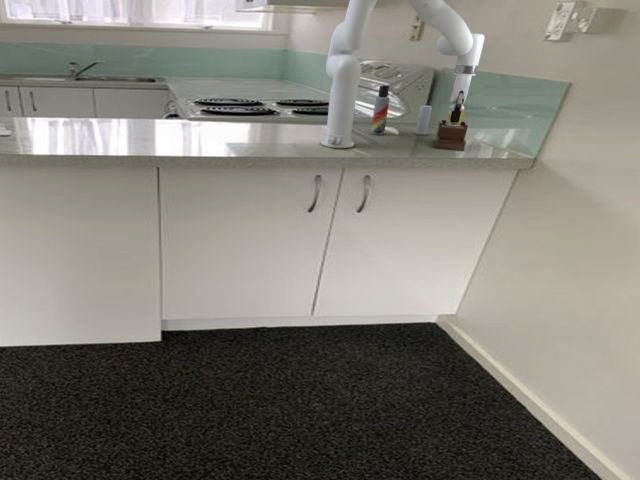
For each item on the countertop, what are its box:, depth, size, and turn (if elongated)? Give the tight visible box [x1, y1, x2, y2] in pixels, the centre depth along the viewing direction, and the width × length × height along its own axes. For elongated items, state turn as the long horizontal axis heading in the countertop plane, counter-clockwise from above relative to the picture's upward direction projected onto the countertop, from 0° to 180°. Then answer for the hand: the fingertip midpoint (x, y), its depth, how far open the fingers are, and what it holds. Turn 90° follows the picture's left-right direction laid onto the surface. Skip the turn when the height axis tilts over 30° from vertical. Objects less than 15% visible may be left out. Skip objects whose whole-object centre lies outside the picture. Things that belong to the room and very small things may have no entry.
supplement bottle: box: [445, 100, 465, 127], centre depth 164 cm, size 5×5×10 cm
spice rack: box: [434, 119, 469, 152], centre depth 165 cm, size 15×10×8 cm, turn 159°
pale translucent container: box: [414, 104, 433, 136], centre depth 183 cm, size 5×5×12 cm
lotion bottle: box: [370, 85, 390, 136], centre depth 180 cm, size 6×6×20 cm
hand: (453, 120), depth 165 cm, fingers closed on supplement bottle, 5 cm apart
